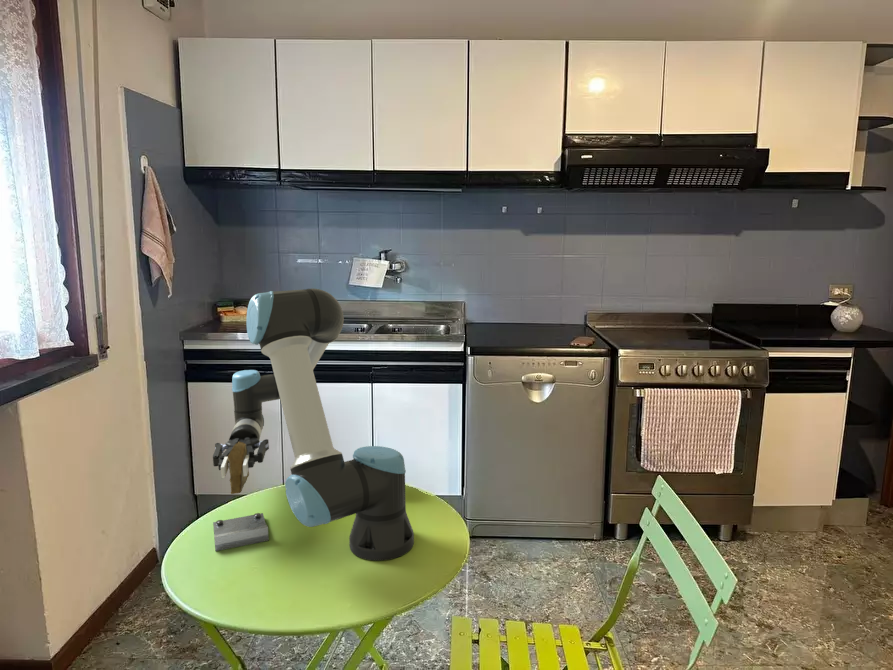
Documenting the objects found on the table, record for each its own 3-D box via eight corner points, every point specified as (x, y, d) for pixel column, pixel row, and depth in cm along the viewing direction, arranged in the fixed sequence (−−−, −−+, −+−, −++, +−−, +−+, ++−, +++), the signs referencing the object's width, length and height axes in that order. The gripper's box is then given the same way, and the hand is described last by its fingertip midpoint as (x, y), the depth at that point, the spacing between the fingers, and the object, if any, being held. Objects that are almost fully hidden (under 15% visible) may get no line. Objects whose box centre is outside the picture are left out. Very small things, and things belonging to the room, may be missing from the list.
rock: (245, 487, 139) (268, 460, 147) (216, 463, 138) (240, 438, 147) (225, 509, 144) (248, 483, 153) (197, 487, 143) (221, 461, 152)
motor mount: (268, 540, 144) (267, 526, 144) (215, 551, 140) (214, 537, 139) (263, 518, 155) (262, 505, 155) (213, 527, 151) (212, 514, 150)
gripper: (279, 447, 165) (273, 483, 142) (212, 452, 161) (195, 490, 139) (277, 421, 163) (271, 453, 141) (210, 426, 160) (193, 459, 138)
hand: (233, 471), depth 140 cm, fingers closed on rock, 4 cm apart
